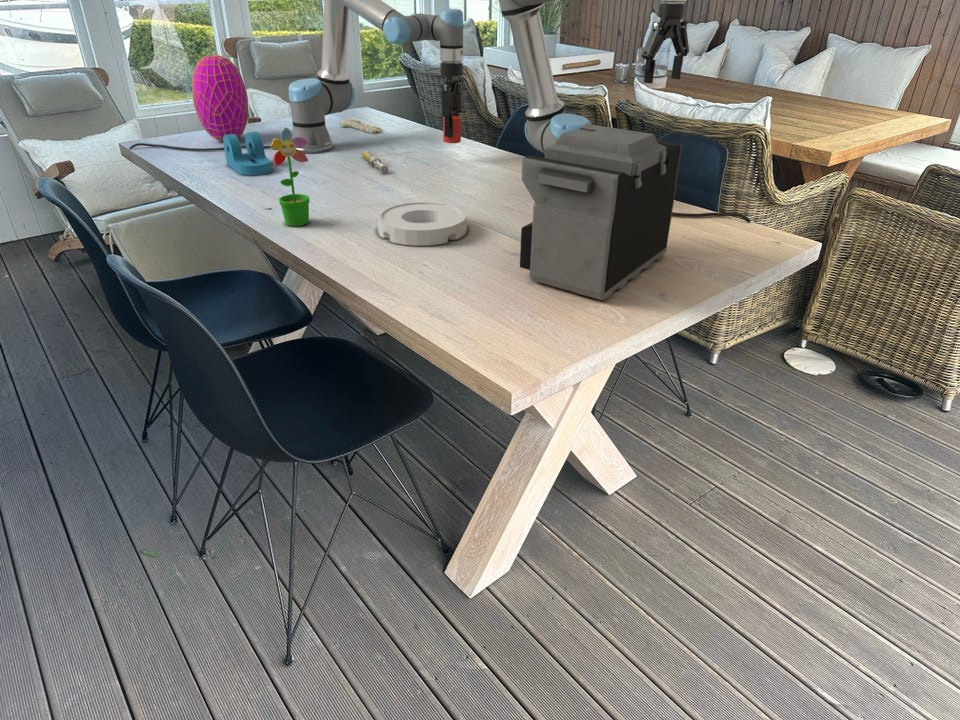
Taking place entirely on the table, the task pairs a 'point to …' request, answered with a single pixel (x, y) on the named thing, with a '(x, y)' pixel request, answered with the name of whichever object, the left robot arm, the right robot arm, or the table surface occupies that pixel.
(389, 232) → the ashtray
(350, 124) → the decorative sign
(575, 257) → the grey cooler box
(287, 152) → the potted flower
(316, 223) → the table surface
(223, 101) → the decorative egg
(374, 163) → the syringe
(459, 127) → the canister
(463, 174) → the table surface
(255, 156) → the camera mount
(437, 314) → the table surface
